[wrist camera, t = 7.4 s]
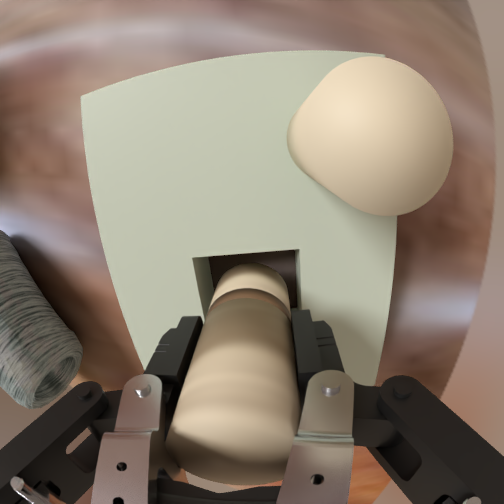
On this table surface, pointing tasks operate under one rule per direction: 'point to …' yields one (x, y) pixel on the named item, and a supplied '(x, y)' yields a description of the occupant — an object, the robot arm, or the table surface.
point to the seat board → (264, 183)
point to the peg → (240, 384)
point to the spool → (32, 337)
